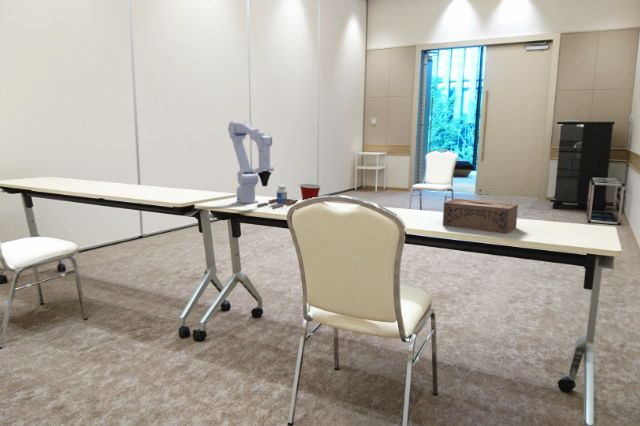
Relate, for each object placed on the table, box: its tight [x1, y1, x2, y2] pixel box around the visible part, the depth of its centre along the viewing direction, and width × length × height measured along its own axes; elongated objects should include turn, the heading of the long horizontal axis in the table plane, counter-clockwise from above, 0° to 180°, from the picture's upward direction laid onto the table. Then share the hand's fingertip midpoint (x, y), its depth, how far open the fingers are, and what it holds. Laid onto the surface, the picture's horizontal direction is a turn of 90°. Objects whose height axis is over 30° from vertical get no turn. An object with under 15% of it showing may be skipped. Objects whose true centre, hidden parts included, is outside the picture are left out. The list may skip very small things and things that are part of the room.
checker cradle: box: [256, 202, 284, 210], centre depth 235 cm, size 10×8×1 cm
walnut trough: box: [268, 198, 299, 206], centre depth 246 cm, size 12×10×2 cm
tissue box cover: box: [442, 198, 519, 235], centre depth 190 cm, size 26×14×10 cm, turn 55°
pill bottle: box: [276, 185, 288, 206], centre depth 244 cm, size 6×5×10 cm
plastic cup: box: [299, 183, 322, 201], centre depth 230 cm, size 11×11×12 cm
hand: (264, 186), depth 235 cm, fingers closed
